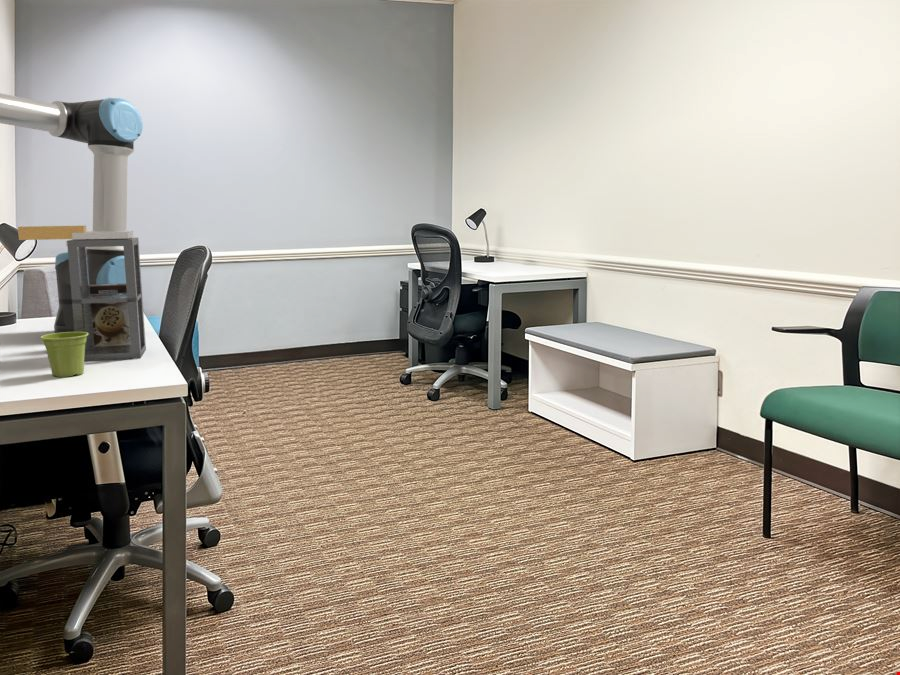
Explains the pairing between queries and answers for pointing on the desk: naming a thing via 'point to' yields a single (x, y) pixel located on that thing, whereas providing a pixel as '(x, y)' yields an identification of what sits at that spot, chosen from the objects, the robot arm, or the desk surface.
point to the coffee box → (110, 317)
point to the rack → (107, 298)
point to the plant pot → (66, 352)
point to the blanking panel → (68, 233)
